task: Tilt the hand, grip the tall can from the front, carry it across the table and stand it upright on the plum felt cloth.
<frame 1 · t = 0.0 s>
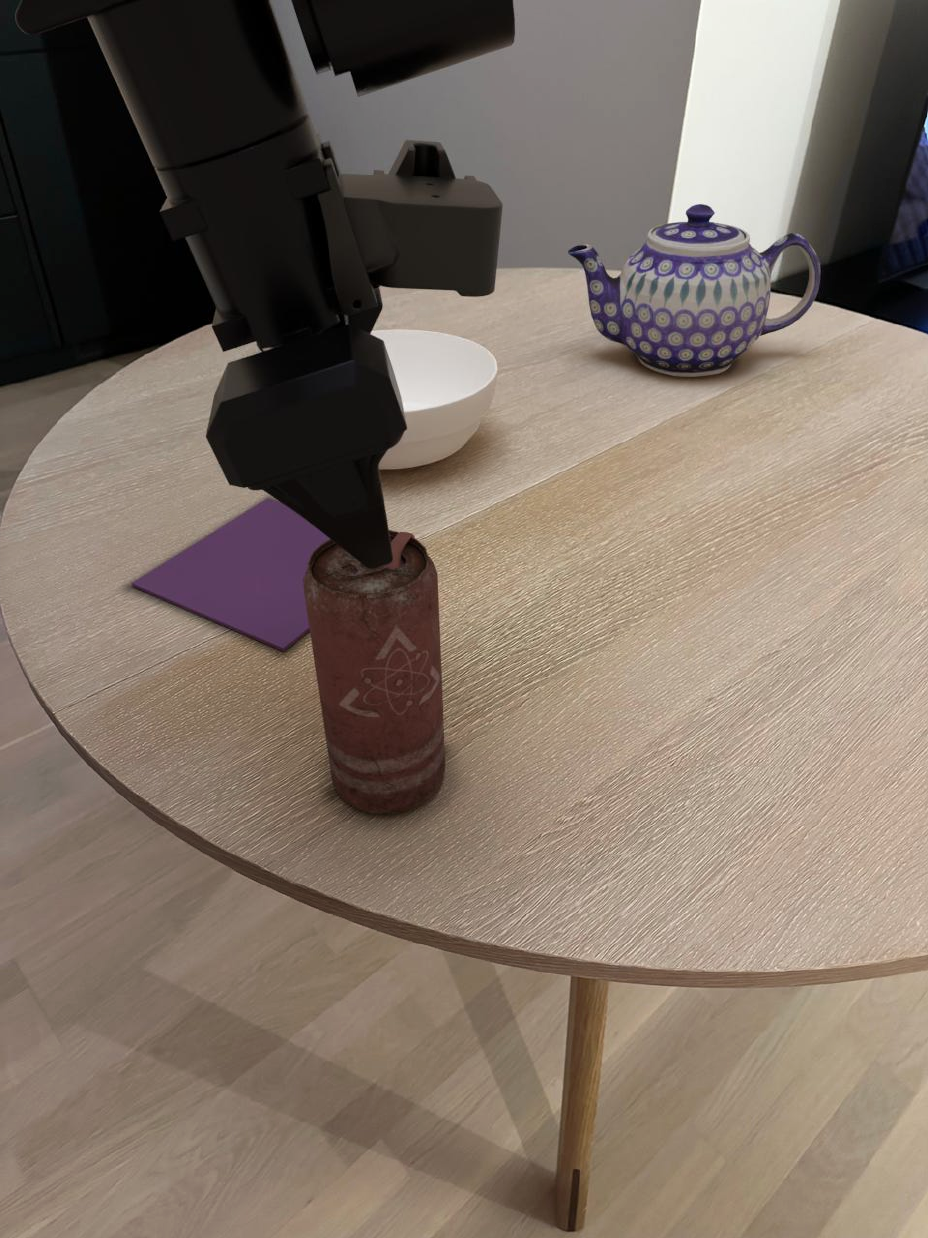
hand: (375, 508, 42), 16 cm above the table, tool pointing down, fingers open, 9 cm apart
can: (390, 776, 50), on the table
teapot: (682, 360, 97), on the table
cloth: (275, 567, 66), on the table
potted plant: (330, 366, 97), on the table
bowl: (394, 448, 82), on the table
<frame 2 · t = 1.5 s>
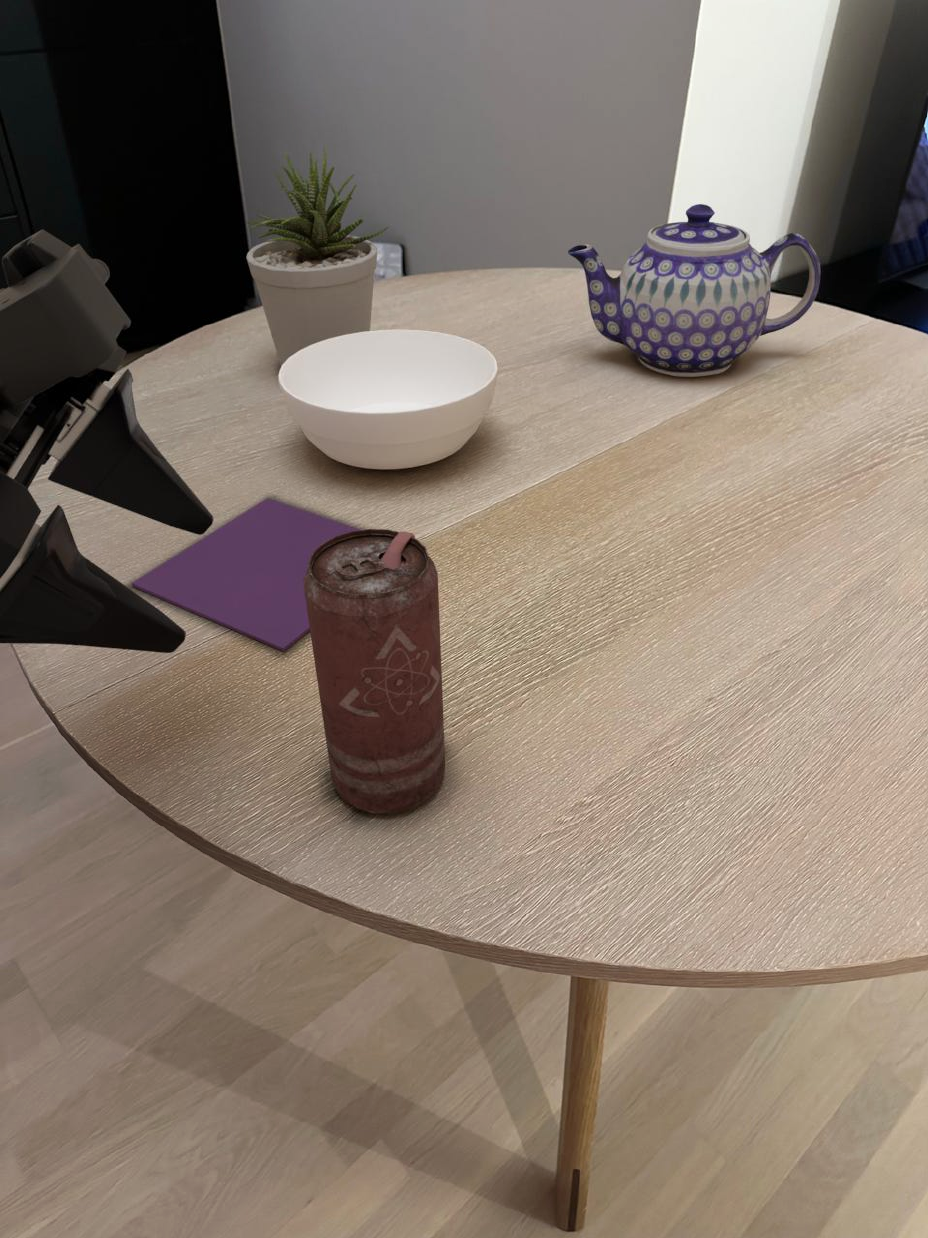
hand: (195, 580, 42), 13 cm above the table, tool tilted 45°, fingers open, 9 cm apart
nothing on the table moved.
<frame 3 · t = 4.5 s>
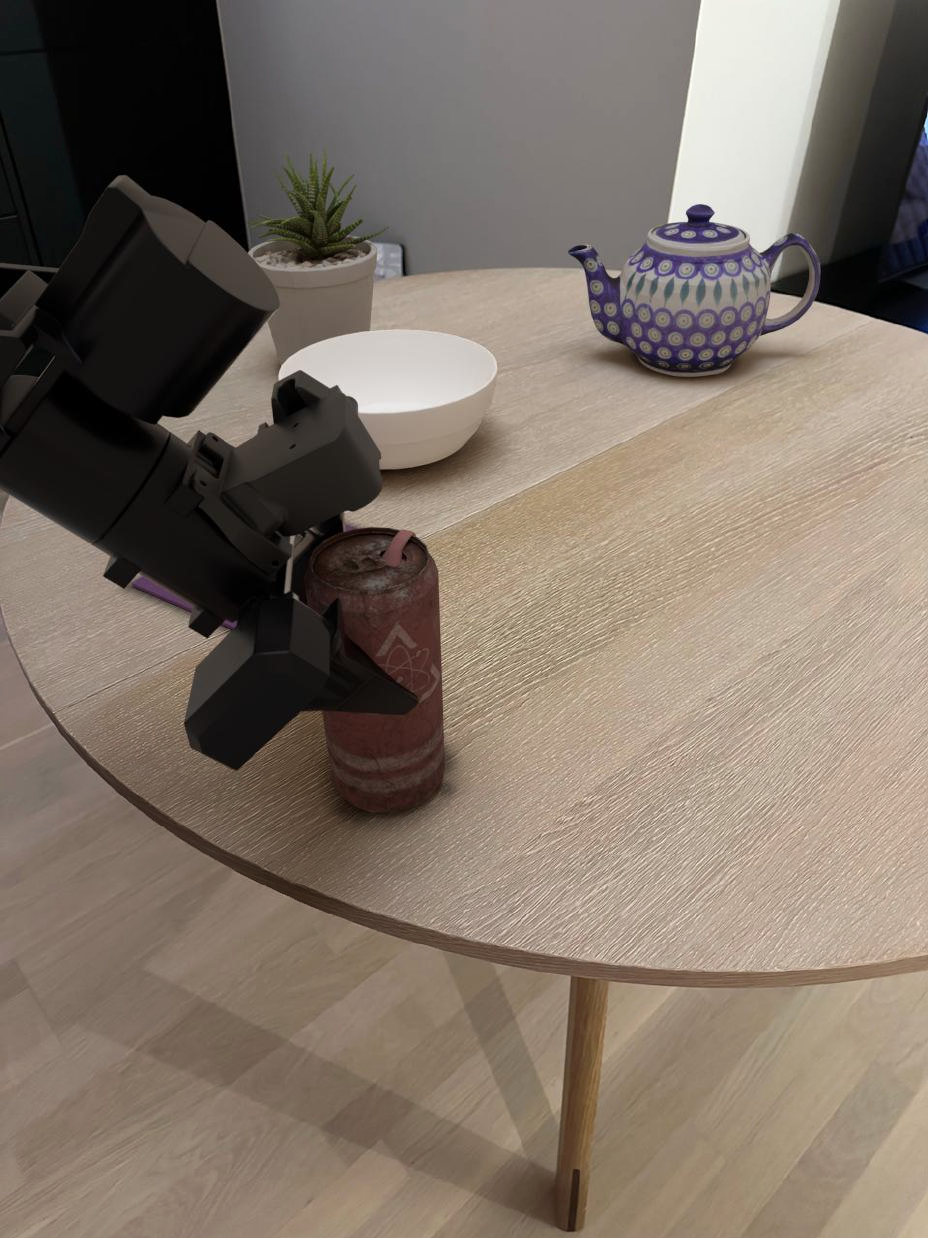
hand: (409, 670, 46), 7 cm above the table, tool tilted 45°, fingers closed on can, 5 cm apart
can: (389, 776, 50), on the table, touching gripper
everything else where it was.
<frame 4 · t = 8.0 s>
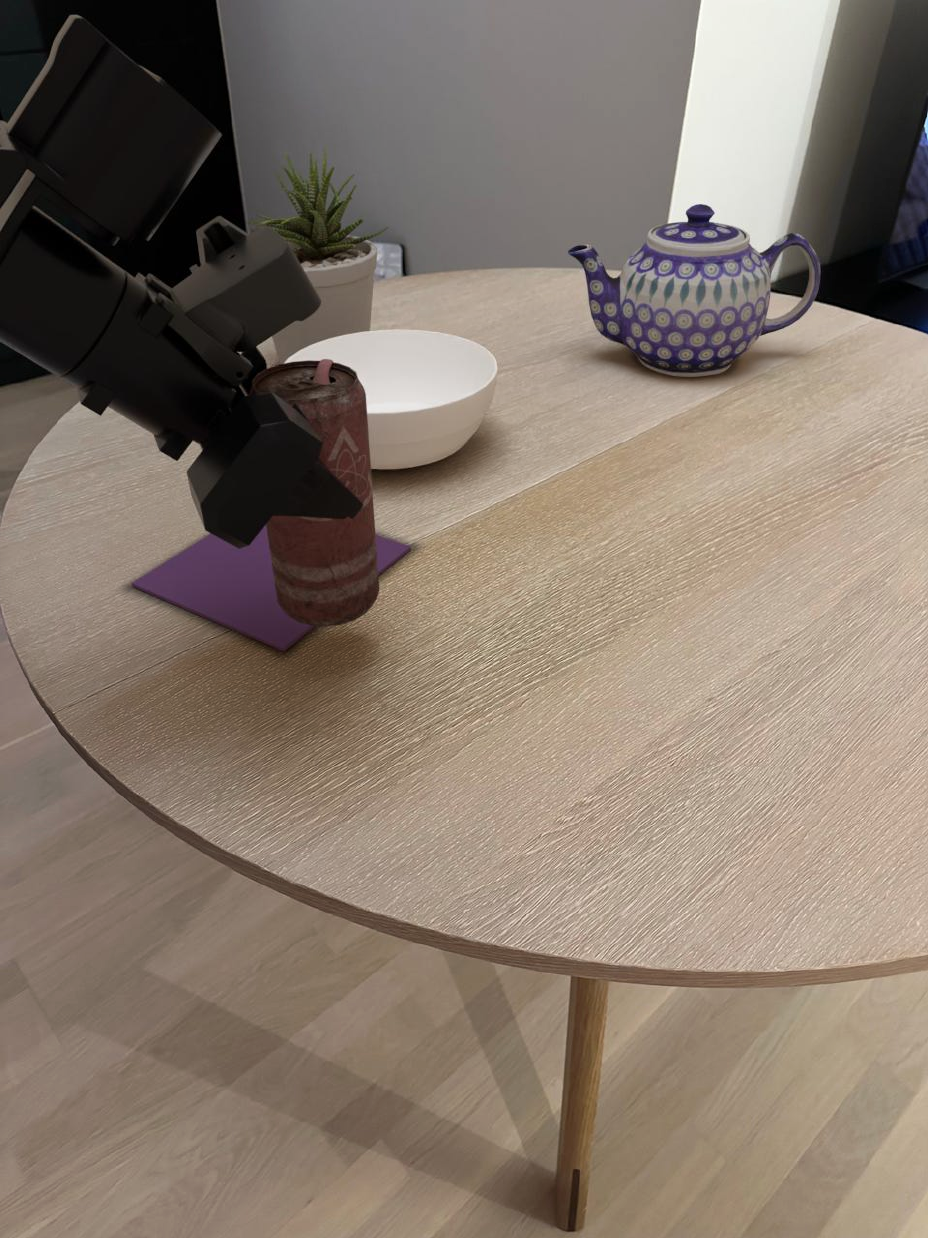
hand: (343, 489, 52), 11 cm above the table, tool tilted 45°, fingers closed on can, 5 cm apart
can: (329, 601, 56), point 4 cm above the table, touching gripper
everything else where it was.
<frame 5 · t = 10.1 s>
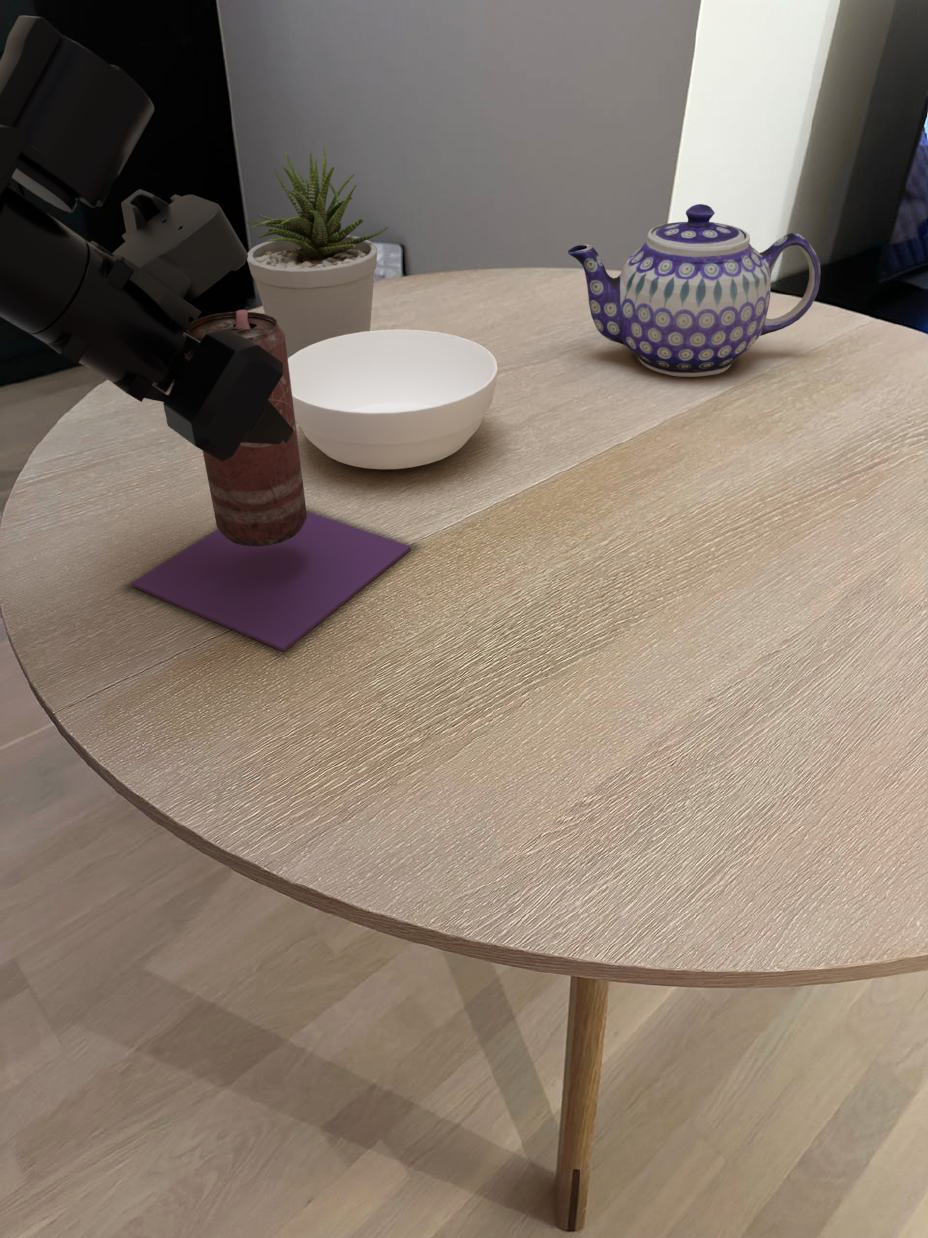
hand: (268, 423, 61), 11 cm above the table, tool tilted 45°, fingers closed on can, 5 cm apart
can: (263, 527, 64), point 3 cm above the table, touching gripper
everything else where it was.
when the fingers open (8 cm above the table, at t = 11.6 s): can stays where it is, resting on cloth.
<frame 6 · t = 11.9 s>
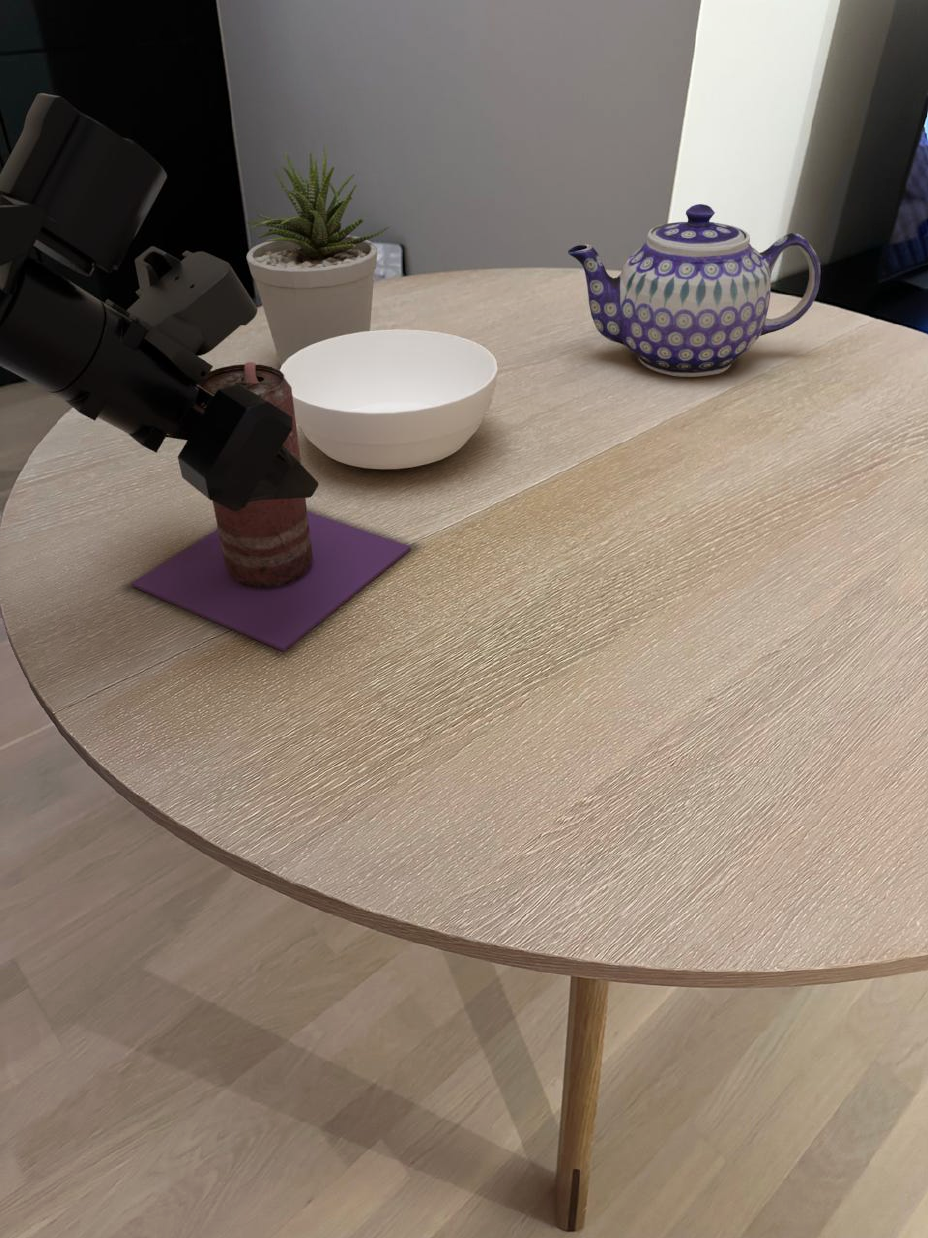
hand: (277, 464, 63), 8 cm above the table, tool tilted 45°, fingers open, 9 cm apart
can: (270, 567, 66), resting on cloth
everything else where it was.
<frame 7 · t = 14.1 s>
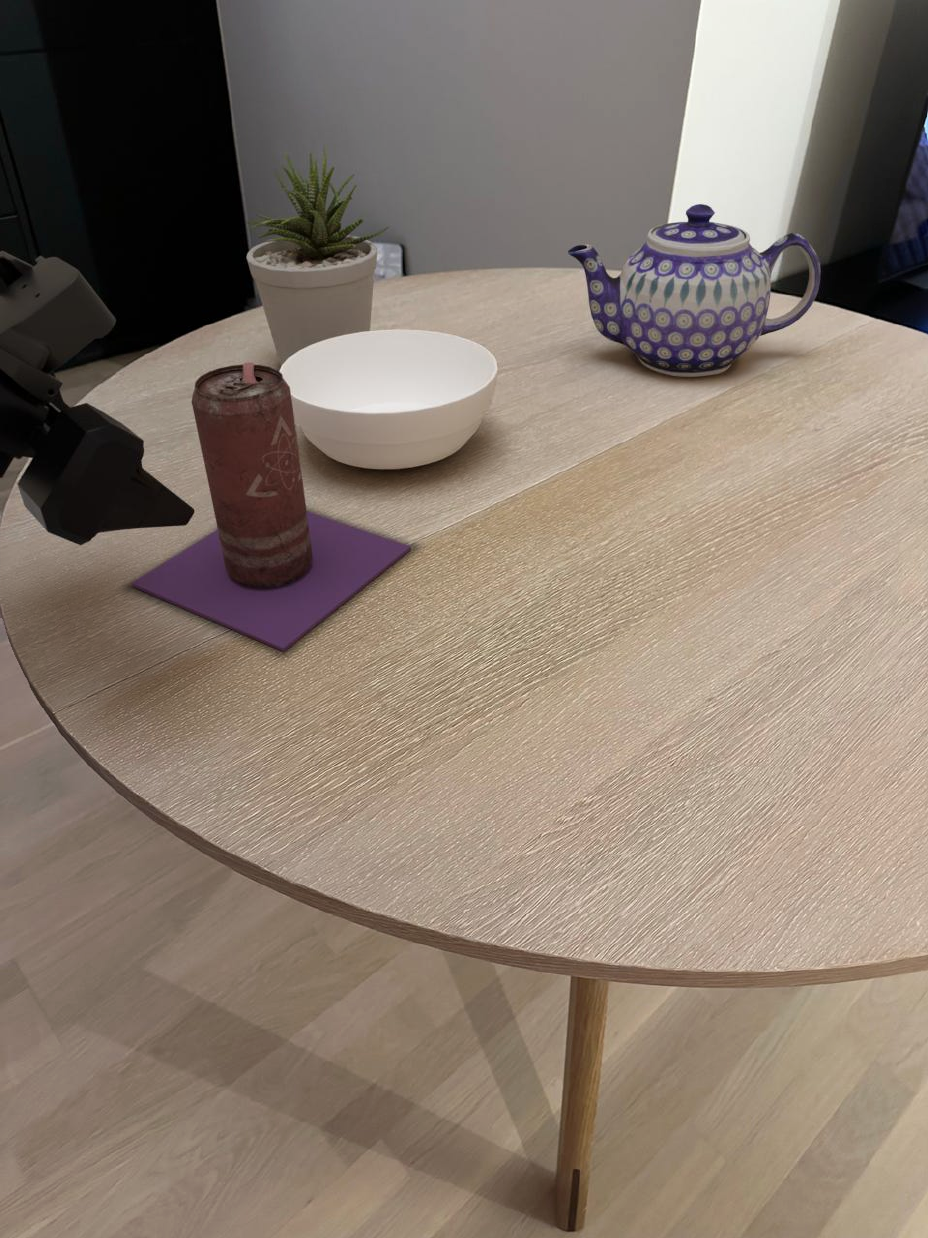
hand: (156, 488, 58), 9 cm above the table, tool tilted 45°, fingers open, 9 cm apart
nothing on the table moved.
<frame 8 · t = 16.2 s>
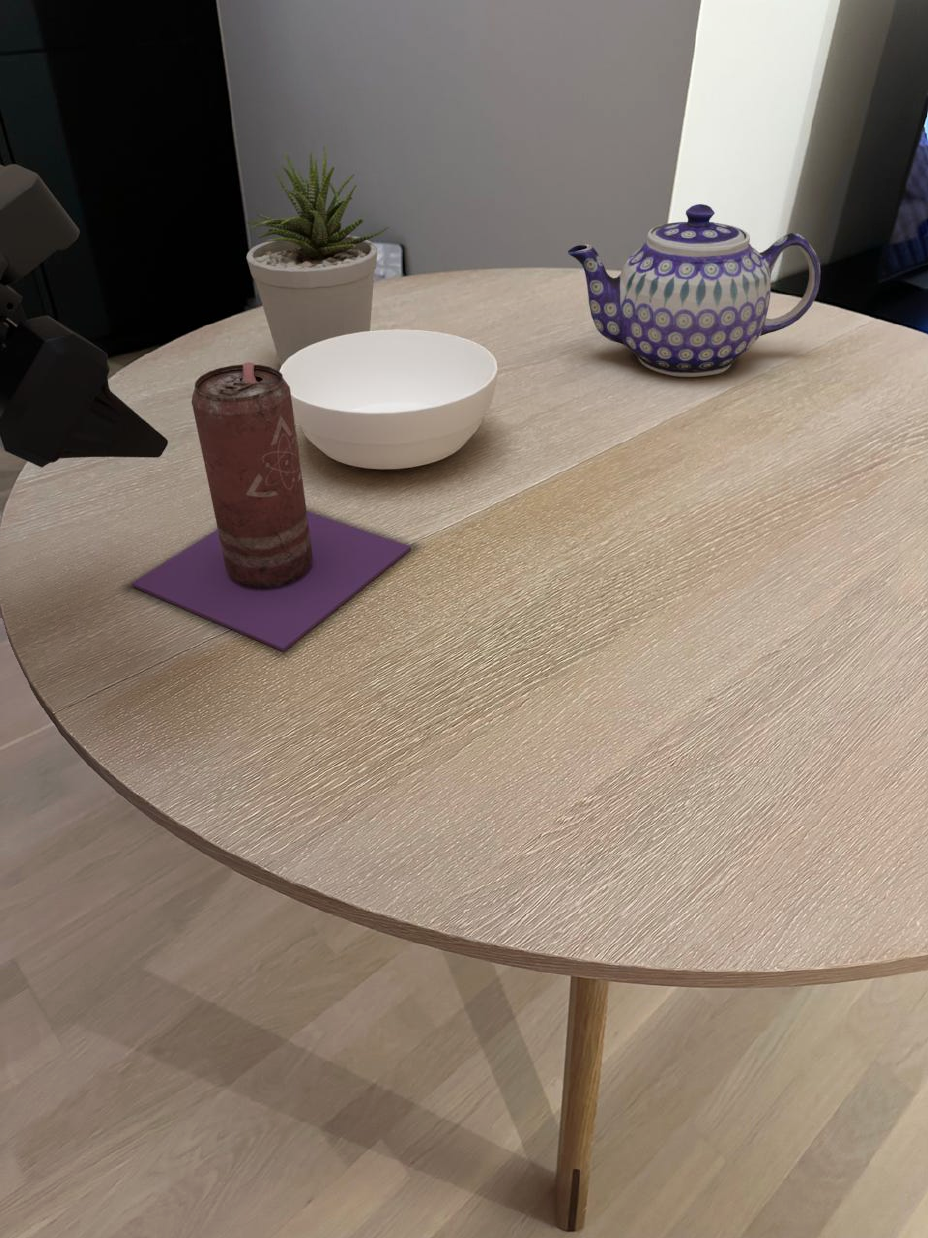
hand: (129, 422, 55), 14 cm above the table, tool tilted 45°, fingers open, 9 cm apart
nothing on the table moved.
at the end: can inside the target area on the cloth (0.3 cm from its centre), point 0.1 cm above the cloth's base; can tilted 0°; the gripper is holding nothing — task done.
